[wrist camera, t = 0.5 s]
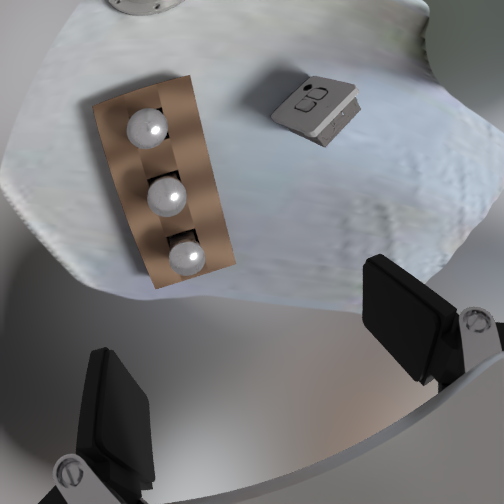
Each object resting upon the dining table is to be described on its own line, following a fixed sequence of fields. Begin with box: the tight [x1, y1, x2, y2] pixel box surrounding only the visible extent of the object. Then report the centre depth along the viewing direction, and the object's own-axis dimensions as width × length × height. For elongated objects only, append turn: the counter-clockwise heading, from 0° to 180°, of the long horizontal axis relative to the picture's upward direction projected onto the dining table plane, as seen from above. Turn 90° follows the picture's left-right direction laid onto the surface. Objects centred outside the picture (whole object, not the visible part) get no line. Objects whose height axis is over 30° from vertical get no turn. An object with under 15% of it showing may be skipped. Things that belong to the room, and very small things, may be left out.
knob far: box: [169, 230, 205, 276], centre depth 36 cm, size 4×4×4 cm
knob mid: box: [147, 173, 187, 217], centre depth 33 cm, size 4×4×4 cm
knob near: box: [127, 108, 168, 149], centre depth 29 cm, size 4×4×4 cm
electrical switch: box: [271, 76, 361, 147], centre depth 34 cm, size 9×5×9 cm, turn 136°
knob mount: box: [92, 75, 236, 289], centre depth 36 cm, size 26×12×4 cm, turn 12°
